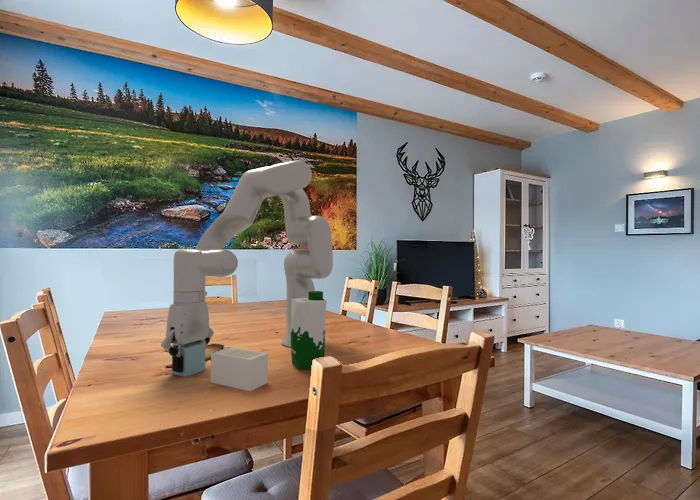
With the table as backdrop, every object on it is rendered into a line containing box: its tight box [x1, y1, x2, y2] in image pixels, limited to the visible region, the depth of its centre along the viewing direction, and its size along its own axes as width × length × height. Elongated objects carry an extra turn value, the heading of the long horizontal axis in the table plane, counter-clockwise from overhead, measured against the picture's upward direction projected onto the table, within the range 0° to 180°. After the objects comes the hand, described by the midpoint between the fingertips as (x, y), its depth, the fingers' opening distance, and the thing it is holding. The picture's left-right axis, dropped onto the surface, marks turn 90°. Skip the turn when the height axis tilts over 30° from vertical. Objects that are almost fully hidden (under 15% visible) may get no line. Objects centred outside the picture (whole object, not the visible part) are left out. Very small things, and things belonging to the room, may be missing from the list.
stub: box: [171, 342, 206, 378], centre depth 97 cm, size 6×5×7 cm
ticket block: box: [210, 346, 269, 392], centre depth 89 cm, size 6×12×7 cm, turn 64°
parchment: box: [166, 343, 225, 368], centre depth 111 cm, size 25×10×1 cm, turn 0°
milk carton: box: [290, 290, 327, 371], centre depth 103 cm, size 9×9×20 cm
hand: (189, 367), depth 97 cm, fingers closed on stub, 6 cm apart
